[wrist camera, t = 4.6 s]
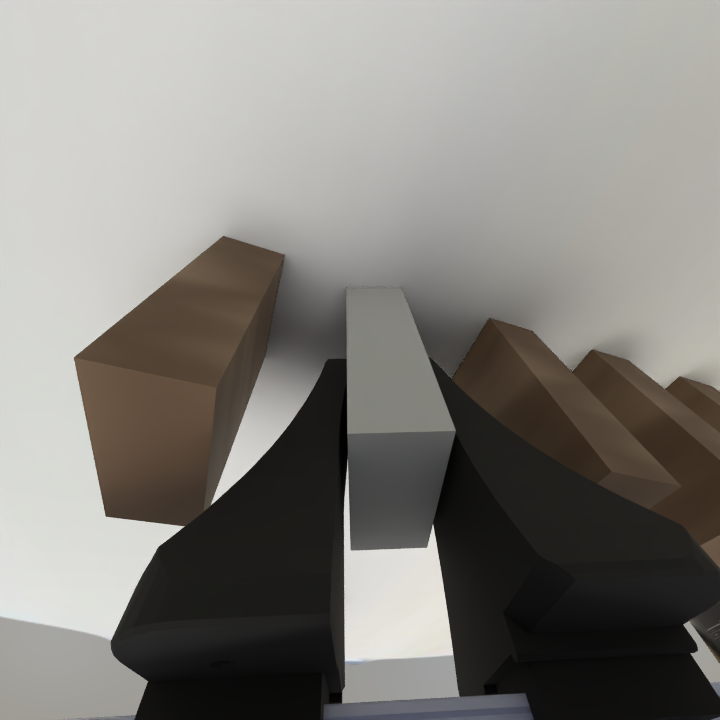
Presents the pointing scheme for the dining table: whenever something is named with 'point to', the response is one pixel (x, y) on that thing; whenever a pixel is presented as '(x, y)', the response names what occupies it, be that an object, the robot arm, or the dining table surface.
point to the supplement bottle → (709, 628)
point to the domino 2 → (392, 424)
